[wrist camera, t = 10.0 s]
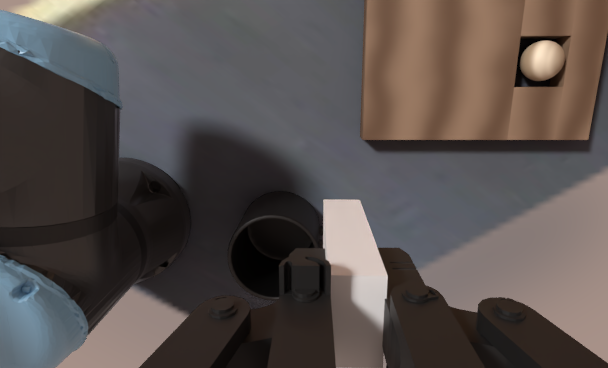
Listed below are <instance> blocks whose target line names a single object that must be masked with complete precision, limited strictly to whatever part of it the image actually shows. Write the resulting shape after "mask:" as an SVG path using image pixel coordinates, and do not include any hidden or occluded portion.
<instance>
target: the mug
mask: <svg viewBox="0 0 608 368" xmlns="http://www.w3.org/2000/svg"><path fill="white" fill-rule="evenodd" d="M320 235H323V226H320V224H319V219H318V216H317V214H316V212H315V210H314V209H313V207H312V206H311V205H310V204H309V203H308V202H307V201H306V200H305V199H303V198H302V197H300V196H298V195H296V194H293V193H290V192H283V191H278V192H271V193H267V194H265V195H263V196H261V197H259V198H258V199H256V200H255V201H254V202H253V203H252V204H251V205H250V206H249V208H248V209H247V211H246V213H245V215H244V216H243V218H242V220H241V222H240V224H239V226H238V227H237V229H236V231H235V233H234V235H233V237H232V239H231V241H230V244H229V248H228V264H229V268H230V271H231V273H232V275H233V277H234V279H235V280H236V282H237V283H238V284H239V285H240V286H241V287H242V288H243V289H244V290H246V291H247V292H248V293H250V294H252V295H254V296H256V297H259V298H262V299H266V300H279V295H280V294H279V264H280V263H281V261H282V260H284V259H286V258H288V257H289V254H291V253H292V252H293V251H294V250H295V249H296V248H323V240H320Z"/></svg>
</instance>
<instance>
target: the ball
mask: <svg viewBox="0 0 608 368" xmlns="http://www.w3.org/2000/svg"><path fill="white" fill-rule="evenodd" d="M564 62H565V53H564V51H563V49H562V47H561V46H560V45H559V44H557V43H556V42H553V41H548V40H543V41H538V42H536V43H533V44H532V45H530V46H529V47H528V48H526V50H525V51H524V52H523V54H522V56H521V58H520V69H521V72H522V73H523V75H524V76H525V77H527V78H529V79H531V80H534V81H543V80H547V79H550V78H552V77H554V76H555V75H556V74H557V73H558V72H559V71H560V70H561V69H562V67H563V65H564Z"/></svg>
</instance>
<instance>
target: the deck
mask: <svg viewBox="0 0 608 368" xmlns="http://www.w3.org/2000/svg"><path fill="white" fill-rule="evenodd" d="M607 33H608V0H365V2H364V33H363V64H362V95H361V126H360V137H361V138H362V140H588V138H589V132H590V127H591V121H592V116H593V110H594V105H595V99H596V94H597V88H598V83H599V77H600V72H601V66H602V61H603V55H604V50H605V44H606V39H607ZM539 38H556V43H557V44H559V45H560V46H561V47H562V49H563V51H564V53H565V62H564V65H563V67H562V69H561V70H560V71H559V72H558V73H557V74H556V75H555V76H554V77H552V78H550V85H549V87H514V84H515V77H516V69H517V61H518V53H519V46H520V39H539Z"/></svg>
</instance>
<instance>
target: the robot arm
mask: <svg viewBox="0 0 608 368" xmlns="http://www.w3.org/2000/svg"><path fill="white" fill-rule="evenodd" d="M120 109H122V102H121V101H120V99H119V71H118V63H117V60H116V58H115V56H114V54H113V53H112V52H111V51H110V50H109V49H108V48H107V47H106V46H105V45H103V44H102V43H100V42H98V41H96V40H94V39H92V38H89V37H87V36H84V35H82V34H79V33H76V32H73V31H70V30H67V29H64V28H61V27H58V26H55V25H52V24H49V23H45V22H42V21H39V20H35V19H32V18H29V17H25V16H22V15H18V14H14V13H11V12H7V11H3V10H0V368H55V367H57V366H58V365H59V364H60V363H61V362H62V361H63V360H64V359H65V358H66V357H67V356H68V355H70V354H71V353H72V352H73V351H75V350H77V349H78V348H80V347H81V346H82V344H83V343H84V342H85V340H86V339H87V338H86V337H87V335H89V334H90V332H91V331H92V330H93V329H94V328H95V327H96V326H97V325H98V323H99V322H100V321H101V320H102V319H103V318H104V317H105V316H106V315H107V313H108V312H109V311H110V310H111V309H112V308H113V307H114V306H115V305H116V303H117V302H118V301H119V300H120V299H121V298H122V297H123V296H124V294H125V293H126V292H127V291H128V290H129V289H130V288H131V287H132V285H133V284H136V283H139V282H141V281H144V280H146V279H149V278H151V277H154V276H156V275H158V274H160V273H161V272H163V271H164V270H165V269H167V268H168V267H169V266H170V265H171V264H172V263H173V262H174V261H175V260H176V258H177V257H178V256H179V255H180V253H181V252H182V250H183V249H184V247H185V245H186V243H187V240H188V237H189V233H190V223H191V222H190V212H189V208H188V205H187V202H186V199H185V197H184V195H183V193H182V192H181V190H180V189H179V187H178V186H177V184H176V183H175V182H174V181H173V180H172V179H171V178H170V177H169V176H168V175H167V174H166V173H164V172H163V171H162V170H160V169H159V168H157V167H155V166H153V165H151V164H149V163H147V162H144V161H141V160H137V159H132V158H119V132H120ZM279 294H280V295H279V300H278V301H276V302H275V303H273V304H271V305H269V306H266V307H262V308H258V309H252V310H250V306H249V303H248V302H247V301H246V300H244V299H243V298H240V297H236V296H227V295H225V296H218V297H214V298H212V299H209V300H207V301H205V302H203V303H202V304H201V305H199V306H198V307H197V308H196V309H195V310H194V311H193V312H192V313H191V314H190V315H189V316H188V317H187V318H186V320H185V321H184V322H183V323H182V324H181V325H180V326H179V327H178V328H177V329H176V330H175V331H174V332H173V333H172V334H171V335H170V336H169V337H168V338H167V339H166V340H165V341H164V342H163V343H162V344H161V345H160V347H159V348H158V349H157V350H156V351H155V352H154V353H153V354H152V355H151V356H150V357H149V358H148V359H147V360H146V361H145V362H144V363H143V364H142V365H141V366H140V367H139V368H336V367H352V368H383V353H384V355H385V359H386V363H387V366H386V368H608V363H607V362H605V361H604V360H602V359H601V358H600V357H598V356H597V355H596V354H594V353H593V352H591V351H590V350H589V349H587V348H586V347H584V346H583V345H582V344H580V343H579V342H578V341H576V340H575V339H573V338H572V337H571V336H569V335H568V334H566V333H565V332H564V331H562V330H561V329H560V328H558V327H557V326H555V325H554V324H553V323H551V322H550V321H548V320H547V319H546V318H544V317H543V316H542V315H540V314H539V313H537V312H536V311H535V310H533V309H531V308H530V307H528V306H526V305H525V304H523V303H520V302H516V301H514V300H513V299H509V298H507V299H505V298H501V297H499V298H488V299H485V300H482V301H481V302H480V303H479V304H478V312H477V313H476V312H471V311H466V310H460V309H456V308H452V307H450V306H448V304H447V302H446V301H445V299H444V297H443V296H442V295H441V294H440V293H439V292H438V291H437V290H435V289H433V288H431V287H429V286H426V285H425V284H424V282H423V280H422V278H421V276H420V275H419V273H418V271H417V270H416V267H415V265H414V264H413V262H412V260H411V258H410V256H409V254H407V253H406V252H404V251H403V250H401V249H400V248H377V245H376V243H375V240H374V237H373V235H372V232H371V229H370V227H369V224H368V221H367V218H366V216H365V213H364V210H363V208H362V205H361V202H360V200H323V248H296V249H295V250H294V251H293V252H292V253H291V254H289V257H288V258H286V259H284V260H282V261H281V263H280V264H279Z"/></svg>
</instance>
